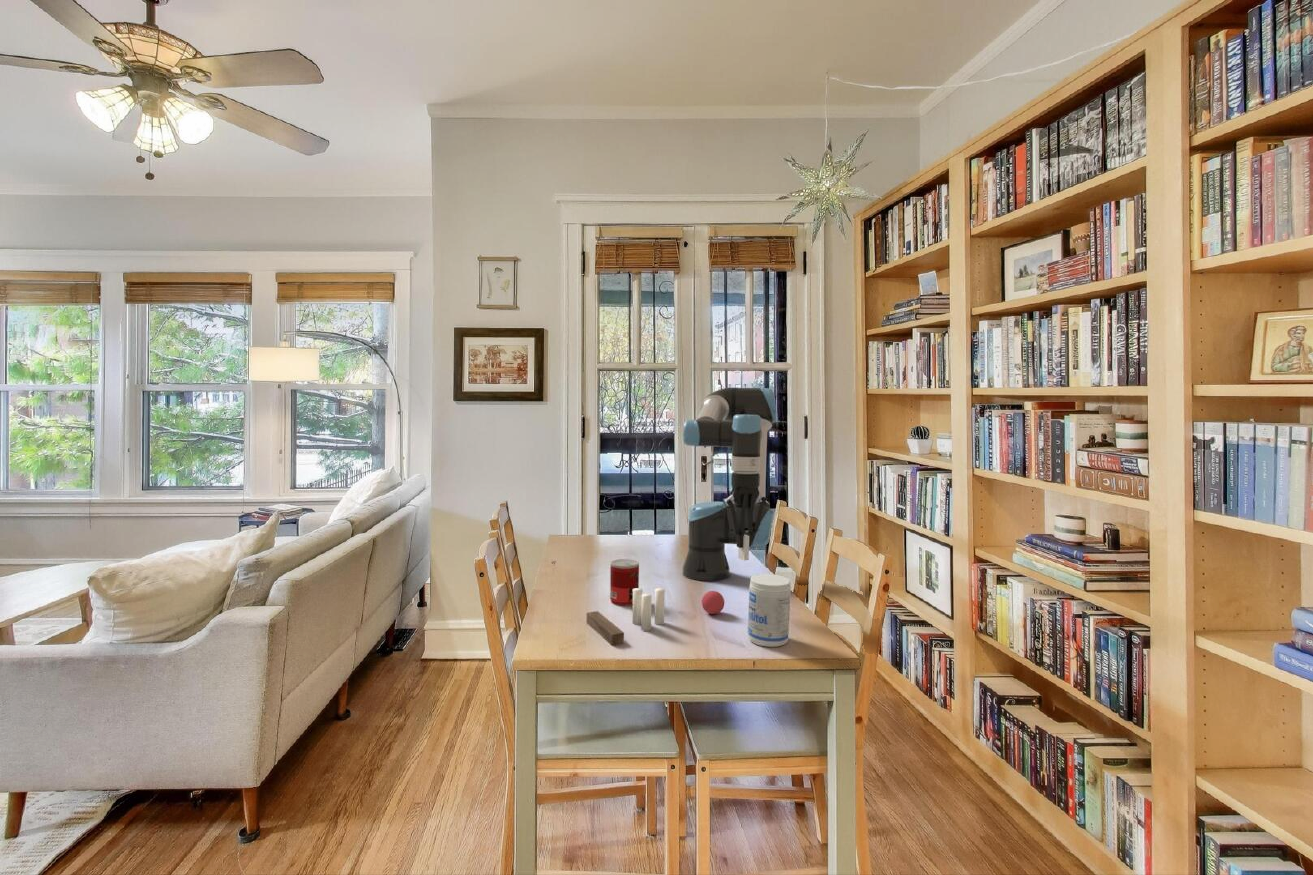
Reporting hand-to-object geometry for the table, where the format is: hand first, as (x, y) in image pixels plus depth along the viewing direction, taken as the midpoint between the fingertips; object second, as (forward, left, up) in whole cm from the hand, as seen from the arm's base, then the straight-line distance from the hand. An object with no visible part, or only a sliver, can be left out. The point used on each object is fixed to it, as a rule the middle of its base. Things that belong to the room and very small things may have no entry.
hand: (743, 559), depth 168 cm
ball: (+9, 0, -11) cm, 14 cm away
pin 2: (+30, +2, -14) cm, 33 cm away
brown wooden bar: (+40, 0, -14) cm, 43 cm away
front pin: (+25, 0, -14) cm, 29 cm away
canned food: (+26, -19, -14) cm, 35 cm away
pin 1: (+30, -3, -14) cm, 33 cm away
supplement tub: (+7, +21, -14) cm, 26 cm away
